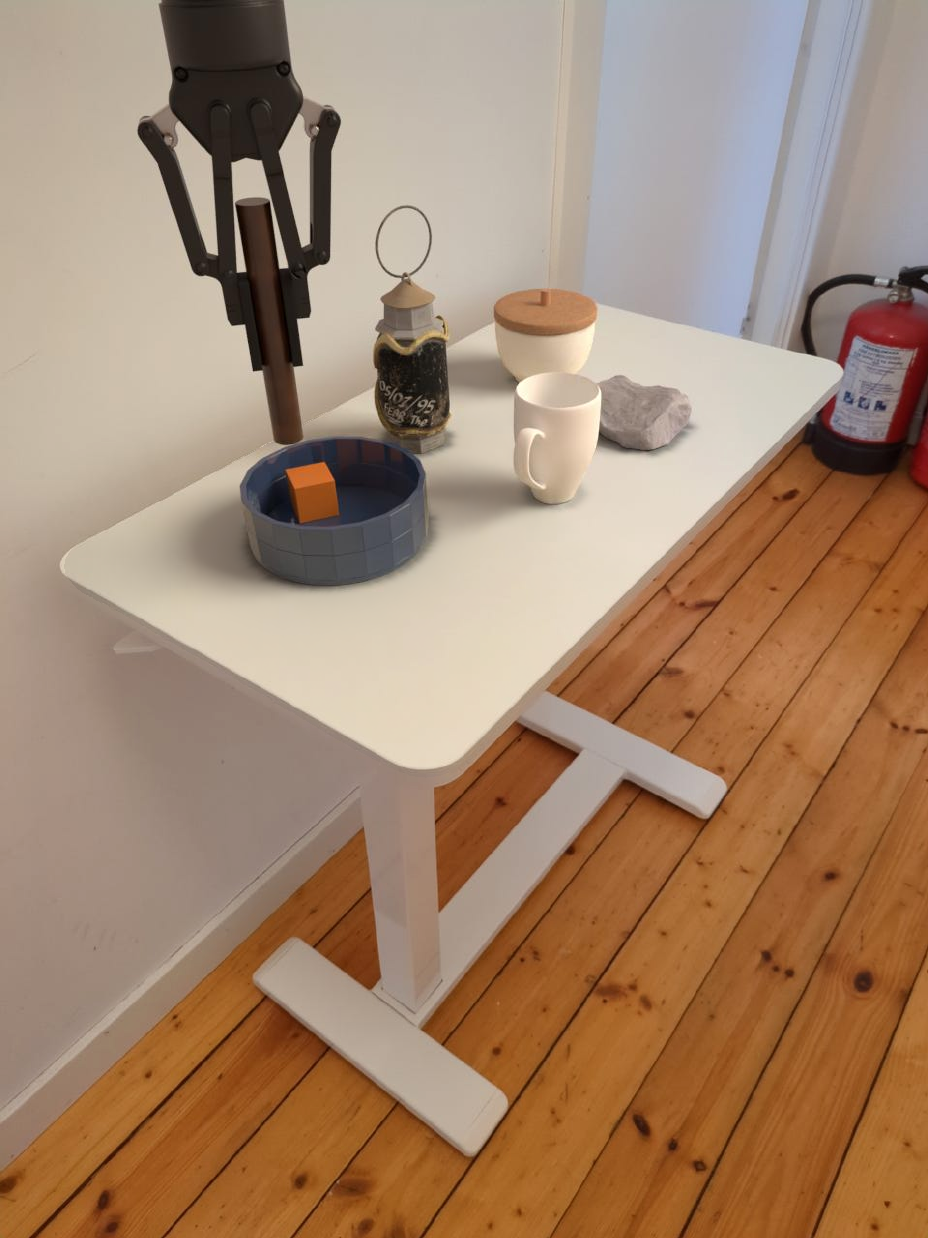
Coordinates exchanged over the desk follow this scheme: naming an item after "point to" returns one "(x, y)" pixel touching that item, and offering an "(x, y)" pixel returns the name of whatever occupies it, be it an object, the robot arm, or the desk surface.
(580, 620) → the desk surface
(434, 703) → the desk surface
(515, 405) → the mug
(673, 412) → the stone block
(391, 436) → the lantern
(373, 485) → the stir bowl
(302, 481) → the block
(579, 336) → the lidded bowl
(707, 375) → the desk surface
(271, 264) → the stick
